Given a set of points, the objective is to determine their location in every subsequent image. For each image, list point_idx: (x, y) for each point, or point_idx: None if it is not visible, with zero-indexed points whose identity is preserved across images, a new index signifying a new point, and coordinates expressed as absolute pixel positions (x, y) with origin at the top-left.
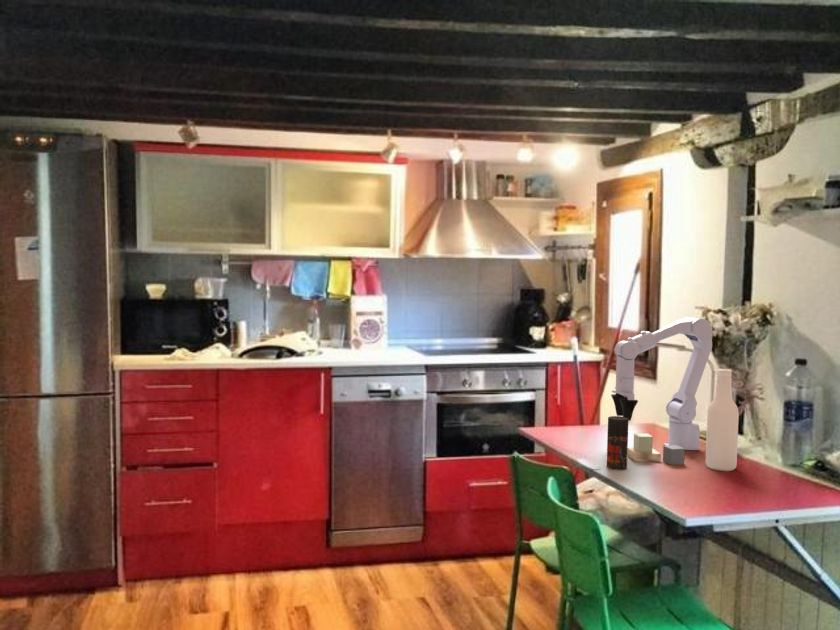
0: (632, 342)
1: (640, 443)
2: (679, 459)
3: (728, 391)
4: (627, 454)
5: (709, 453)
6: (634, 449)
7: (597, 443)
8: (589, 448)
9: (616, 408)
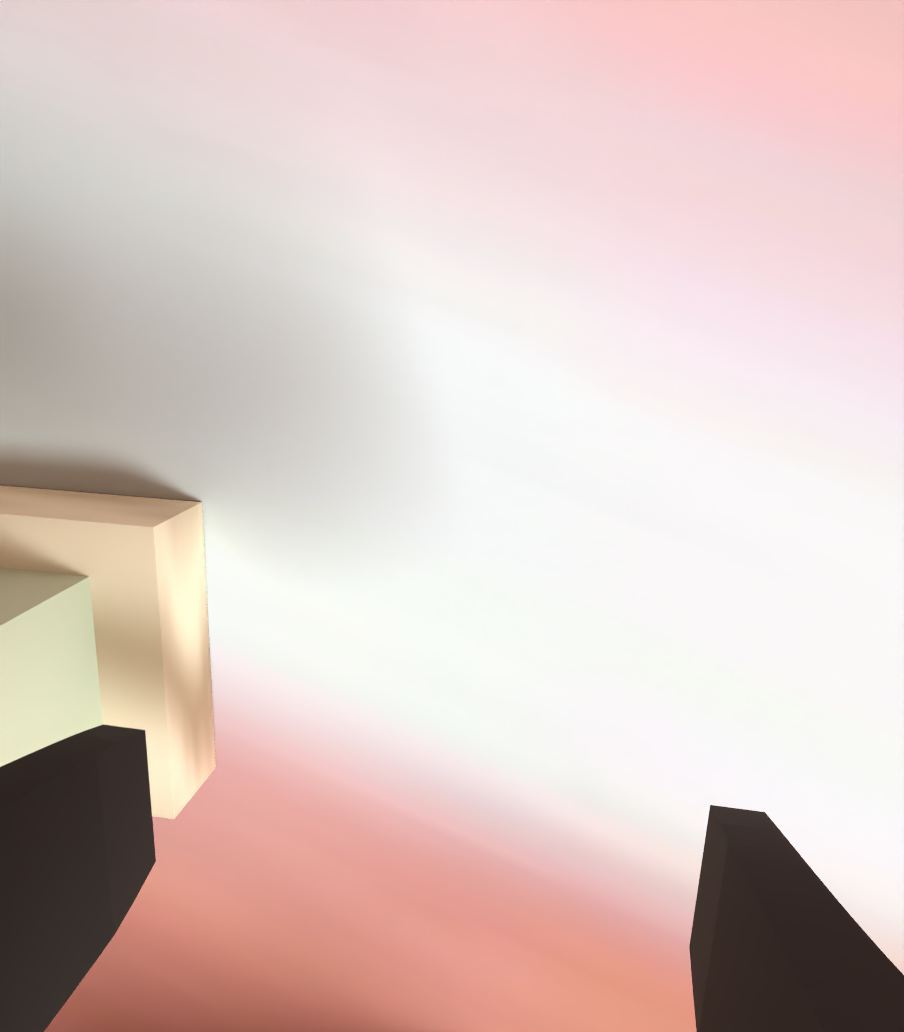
0: None
1: None
2: None
3: None
4: (189, 503)
5: None
6: (51, 573)
7: (878, 322)
8: (558, 80)
9: (778, 953)
